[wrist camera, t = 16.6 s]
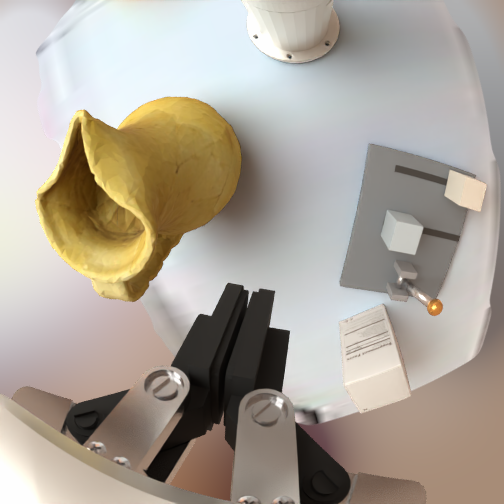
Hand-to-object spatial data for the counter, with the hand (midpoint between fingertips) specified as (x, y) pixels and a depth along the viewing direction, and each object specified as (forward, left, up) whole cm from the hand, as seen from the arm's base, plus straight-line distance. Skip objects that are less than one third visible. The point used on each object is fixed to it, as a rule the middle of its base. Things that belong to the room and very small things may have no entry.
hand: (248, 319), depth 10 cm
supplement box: (+25, +18, -32) cm, 45 cm away
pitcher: (0, -15, -32) cm, 36 cm away
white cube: (+4, +16, -30) cm, 35 cm away
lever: (+12, +19, -29) cm, 37 cm away
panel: (+5, +19, -32) cm, 38 cm away
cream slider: (-3, +25, -30) cm, 39 cm away
